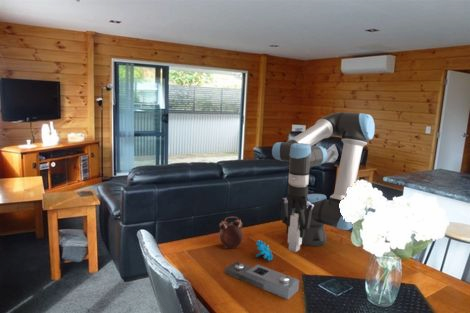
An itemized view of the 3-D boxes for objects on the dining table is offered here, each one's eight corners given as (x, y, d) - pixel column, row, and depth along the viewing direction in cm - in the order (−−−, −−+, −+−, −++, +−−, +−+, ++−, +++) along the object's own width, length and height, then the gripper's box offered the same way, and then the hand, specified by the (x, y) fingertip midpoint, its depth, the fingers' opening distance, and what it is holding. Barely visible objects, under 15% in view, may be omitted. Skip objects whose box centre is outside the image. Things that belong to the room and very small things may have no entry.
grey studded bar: (237, 265, 143) (237, 254, 142) (298, 290, 126) (299, 277, 125) (224, 272, 136) (225, 261, 135) (287, 299, 120) (288, 286, 119)
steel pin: (292, 246, 137) (294, 213, 135) (299, 249, 135) (302, 215, 133) (288, 249, 135) (290, 215, 132) (296, 252, 133) (298, 217, 130)
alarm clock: (240, 244, 163) (241, 214, 161) (243, 249, 159) (244, 217, 156) (217, 246, 161) (218, 215, 158) (220, 250, 156) (221, 219, 154)
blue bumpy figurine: (270, 261, 144) (255, 241, 146) (259, 269, 145) (245, 249, 148) (277, 254, 154) (263, 236, 156) (267, 262, 156) (253, 243, 158)
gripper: (274, 182, 132) (271, 240, 136) (314, 190, 123) (309, 252, 127) (284, 179, 138) (281, 234, 142) (322, 186, 129) (318, 246, 133)
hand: (294, 243), depth 134 cm, fingers closed on steel pin, 3 cm apart
